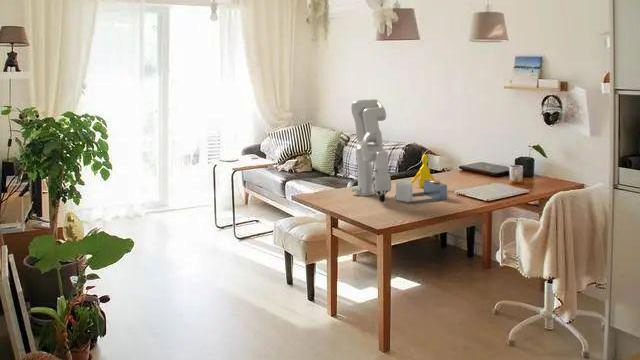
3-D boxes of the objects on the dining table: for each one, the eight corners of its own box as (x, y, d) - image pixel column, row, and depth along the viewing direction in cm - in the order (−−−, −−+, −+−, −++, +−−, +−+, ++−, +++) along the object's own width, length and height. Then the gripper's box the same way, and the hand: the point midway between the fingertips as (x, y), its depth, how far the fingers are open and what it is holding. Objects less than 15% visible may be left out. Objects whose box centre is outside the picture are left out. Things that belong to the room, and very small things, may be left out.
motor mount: (409, 204, 344) (409, 187, 342) (394, 197, 362) (394, 182, 360) (447, 199, 353) (447, 183, 351) (431, 193, 370) (431, 177, 368)
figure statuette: (435, 185, 393) (436, 153, 389) (438, 187, 386) (439, 154, 381) (409, 186, 393) (409, 154, 388) (412, 188, 385) (412, 156, 381)
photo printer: (413, 200, 352) (413, 180, 350) (410, 202, 349) (410, 182, 346) (398, 199, 358) (397, 179, 356) (394, 200, 355) (394, 180, 352)
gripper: (373, 173, 339) (373, 204, 342) (396, 171, 344) (396, 201, 347) (367, 171, 346) (368, 201, 349) (390, 169, 351) (390, 199, 354)
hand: (382, 201), depth 348 cm, fingers closed
